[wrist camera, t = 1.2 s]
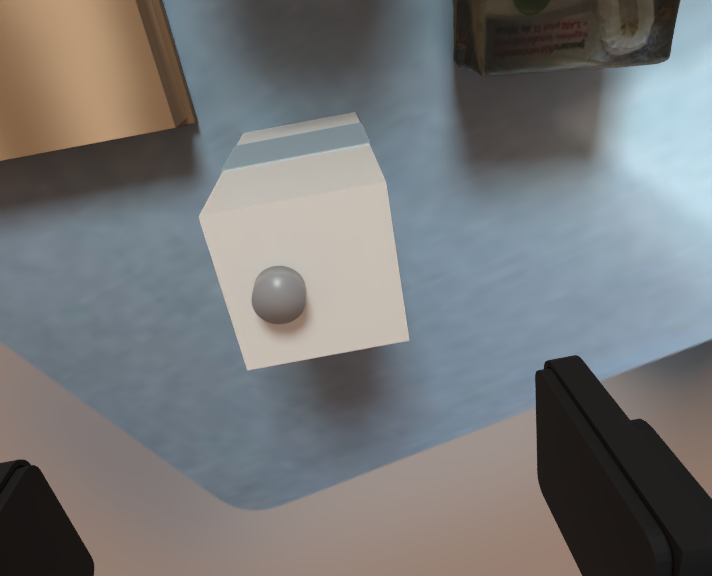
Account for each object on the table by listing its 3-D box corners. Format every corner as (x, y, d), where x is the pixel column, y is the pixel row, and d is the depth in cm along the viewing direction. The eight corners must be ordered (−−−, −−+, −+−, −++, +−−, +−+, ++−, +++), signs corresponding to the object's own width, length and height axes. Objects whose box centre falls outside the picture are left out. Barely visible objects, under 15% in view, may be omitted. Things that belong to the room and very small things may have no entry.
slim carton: (356, 110, 27) (390, 188, 15) (373, 218, 29) (415, 354, 18) (241, 132, 27) (191, 225, 15) (269, 238, 29) (243, 386, 18)
